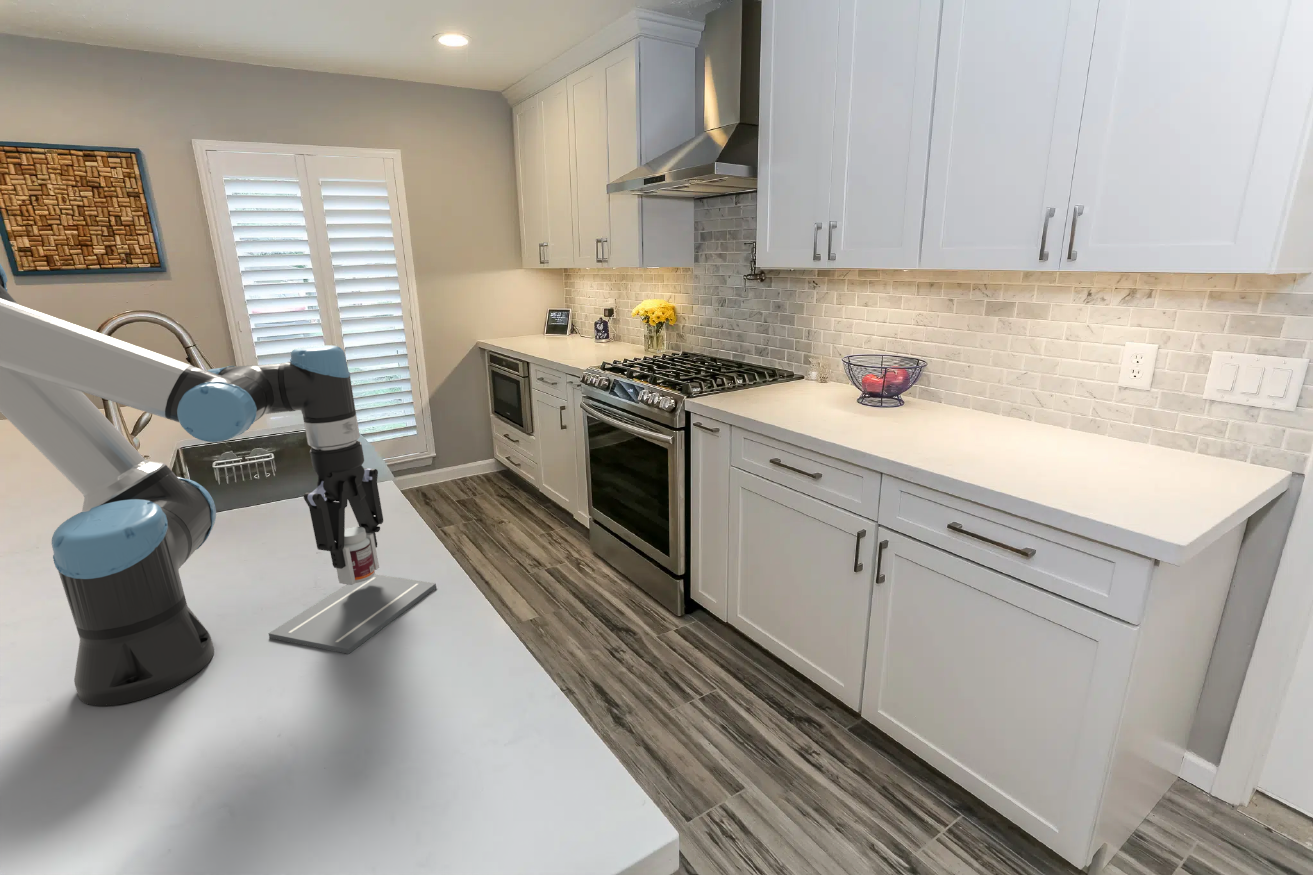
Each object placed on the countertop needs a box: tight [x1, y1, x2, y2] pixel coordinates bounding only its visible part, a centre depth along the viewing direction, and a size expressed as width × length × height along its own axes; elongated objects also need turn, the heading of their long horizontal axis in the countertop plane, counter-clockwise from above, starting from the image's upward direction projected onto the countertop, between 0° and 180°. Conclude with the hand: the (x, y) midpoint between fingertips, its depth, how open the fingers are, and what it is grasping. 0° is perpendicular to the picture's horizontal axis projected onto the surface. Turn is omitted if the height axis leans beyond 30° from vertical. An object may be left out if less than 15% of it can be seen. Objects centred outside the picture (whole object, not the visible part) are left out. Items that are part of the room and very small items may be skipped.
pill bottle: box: [344, 526, 376, 583], centre depth 107 cm, size 5×5×8 cm
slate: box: [268, 573, 437, 655], centre depth 103 cm, size 20×15×1 cm
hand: (359, 575), depth 108 cm, fingers closed on pill bottle, 5 cm apart
